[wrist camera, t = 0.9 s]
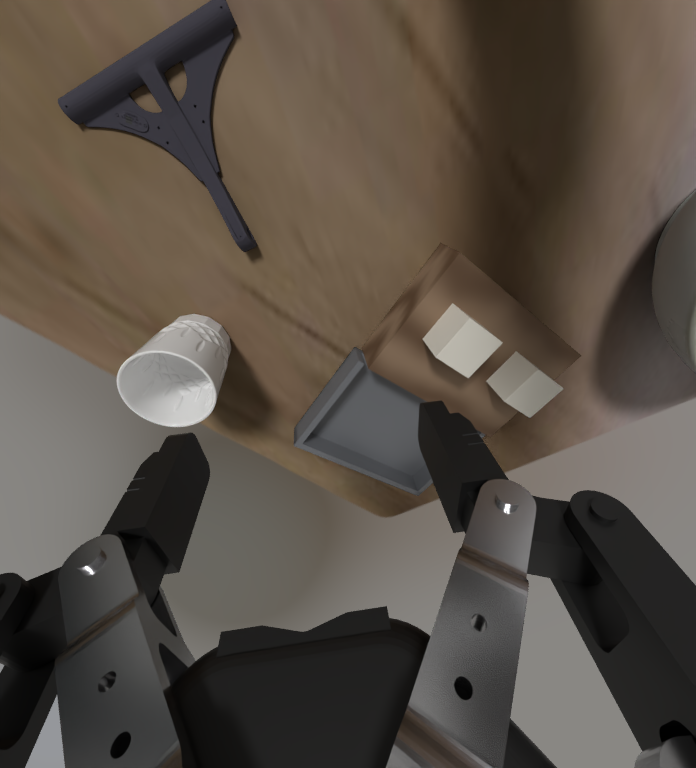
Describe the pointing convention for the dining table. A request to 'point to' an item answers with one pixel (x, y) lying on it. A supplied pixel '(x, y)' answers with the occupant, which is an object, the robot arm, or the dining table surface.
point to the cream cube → (461, 341)
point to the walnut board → (485, 305)
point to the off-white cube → (523, 385)
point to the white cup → (177, 372)
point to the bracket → (170, 99)
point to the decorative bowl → (677, 281)
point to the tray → (367, 426)
